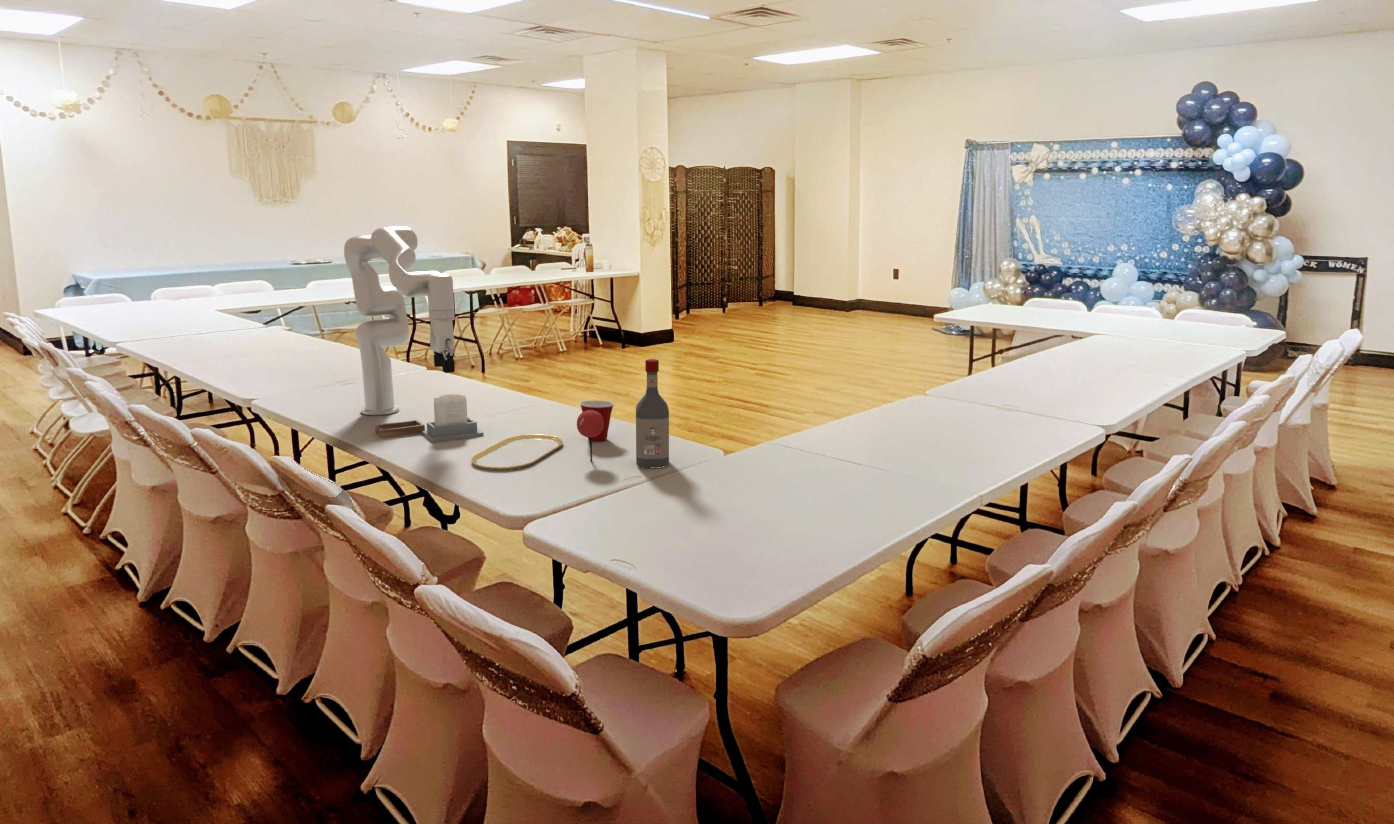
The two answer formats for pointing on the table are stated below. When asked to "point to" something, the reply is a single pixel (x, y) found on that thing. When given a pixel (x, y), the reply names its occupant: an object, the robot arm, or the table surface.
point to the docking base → (452, 431)
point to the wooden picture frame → (399, 429)
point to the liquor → (652, 423)
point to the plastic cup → (605, 412)
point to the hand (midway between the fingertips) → (444, 369)
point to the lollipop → (590, 425)
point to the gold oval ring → (509, 440)
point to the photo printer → (450, 409)
